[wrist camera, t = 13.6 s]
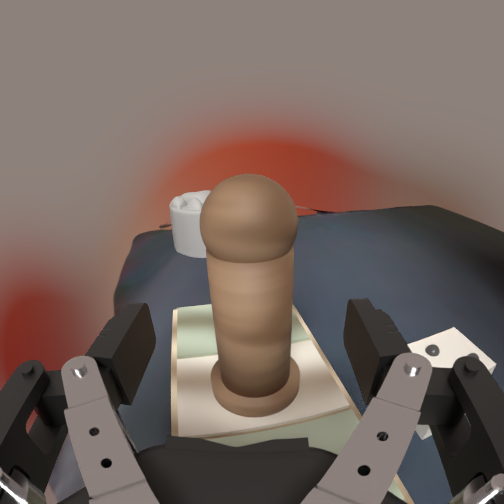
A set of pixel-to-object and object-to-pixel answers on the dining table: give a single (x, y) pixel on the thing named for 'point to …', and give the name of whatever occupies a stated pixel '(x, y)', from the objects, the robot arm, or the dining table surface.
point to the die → (447, 356)
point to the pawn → (251, 293)
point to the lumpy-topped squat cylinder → (188, 223)
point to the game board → (269, 427)
